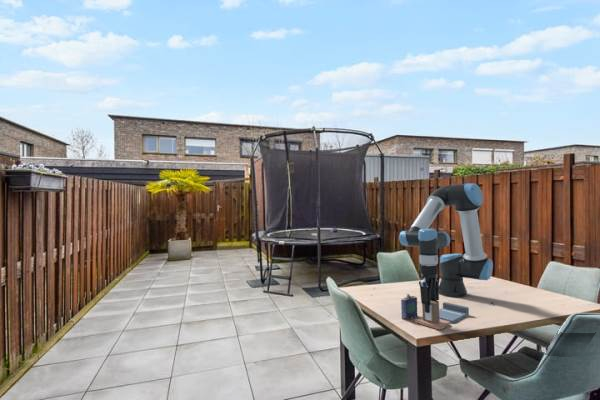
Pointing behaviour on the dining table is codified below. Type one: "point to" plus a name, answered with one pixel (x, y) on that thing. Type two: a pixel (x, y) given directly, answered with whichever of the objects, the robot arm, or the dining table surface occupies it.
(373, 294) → the dining table surface
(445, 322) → the upright panel on base
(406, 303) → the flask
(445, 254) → the robot arm
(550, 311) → the dining table surface
